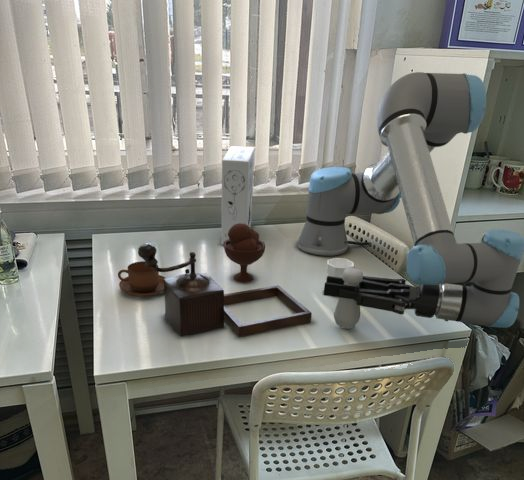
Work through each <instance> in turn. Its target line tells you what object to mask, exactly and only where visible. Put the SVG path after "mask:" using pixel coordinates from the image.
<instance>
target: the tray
mask: <svg viewBox="0 0 524 480" xmlns="http://www.w3.org/2000/svg"><path fill="white" fill-rule="evenodd" d="M274 297H276V298H277V299H278V300H280V301H281V302H282V304H284V305H285V306H286V307H288V308H289V309H290V310H292V311H293V312H294V313H292V314H287V315H286V314H285V315H282V316H276V317H271V318H266V319H261V320H256V321H251V322H245V323H241V322H240V321H239V320H238V319H237V317H235V316H234V315H233V313H232V312H231V311H230V310H229V309H228V308H227V307H226V306H230V305H235V304H241V303H247V302H252V301H258V300H264V299H269V298H270V299H271V298H274ZM312 314H313V313H312V311H310V310H309V309H308V308H307V307H306V306H304V305H303V304H302V303H301V302H299V301H298V300H297V299H296V298H295V297H293V296H292V295H291V294H290V293H289V292H287V291H286V290H285V289H283V288H282V287H281V286H280V285H272V286H265V287H260V288H254V289H249V290H241V291H236V292H229V293H224V323H226V324H227V326H228V327H229V328H230V329H231V331H232V332H234V334H235V335H236V337H238V338H241V337H246V336H251V335H256V334H260V333H266V332H270V331H276V330H281V329H285V328H290V327H296V326H300V325H305V324H310V323H312V316H313V315H312Z"/></svg>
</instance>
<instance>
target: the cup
mask: <svg viewBox="0 0 524 480" xmlns="http://www.w3.org/2000/svg"><path fill="white" fill-rule="evenodd" d="M347 268H355V264H354V261H352V260H349V259H347V258H342V257H333V258H330V259H327V268H326V274H327V276H332V277H340V278H342V275H343V272H344V270H346V269H347ZM327 276H326V277H327Z"/></svg>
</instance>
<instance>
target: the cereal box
mask: <svg viewBox="0 0 524 480" xmlns="http://www.w3.org/2000/svg"><path fill="white" fill-rule="evenodd" d="M254 163H255V147H254V146H253V147H252V146H235V145H233V146H232V145H231V146H229V149H228V150H227V152H226V153H225V155H224V157H223V158H222V160H221V239H220V240H221V245H222V246H224V244H223V242H224V241H226V240H228V239H229V237H228V232H229V229H230V228H231V227H232V226H233V225H235V224H238V223H242V224H246V225H248V226H249V227H250V228H252V223H253V222H252V221H253V220H252V219H253V196H254V195H253V194H254V193H253V192H254V191H253V190H254V167H255V164H254Z"/></svg>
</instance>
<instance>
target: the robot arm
mask: <svg viewBox="0 0 524 480" xmlns="http://www.w3.org/2000/svg"><path fill="white" fill-rule="evenodd" d="M486 107H487V90H486V85H485V83H484V81H483V80H482V79H481V77H479V76H477V75H473V74H467V73H445V72H422V71H416V72H410V73H407V74H405V75H403V76H401V77H399V78H398V79H397V80H395V81H394V82H393V83H391V85H390V86H389V87H388V89H387V90H386V92H385V93H384V95H383V97H382V99H381V101H380V104H379V107H378V112H377V118H376V119H377V120H376V121H377V123H376V125H377V132H378V136H379V139H380V142H381V144H382V145H383V146H384V147H387V149H388V150H387V151H386V152H385V153H384V155H383V156H382V157H381V158H380V160H379V161H378V162H374V163H371V164H370V165H368V167H367V168H366V169H365V170H364V171H363V172H352V170H351V169H350V168H348V167H343V166H339V167H338V166H327V167H323V168H320V169H317V170H315V171H313V172H312V174H311V175H310V178H309V185H308V194H307V196H308V197H307V207H306V219H305V223H304V225H303V228H302V230H301V233H300V235H299V237H298V241H297V242H298V243H297V247H298V249H300V250H301V251H302V252H304V253H307V254H311V255H315V256H321V257H334V256H335V257H336V256H340V255H343V254H345V253H346V252H347V251H348V246H349V245H354V246H362V247H363V246H369V245H370V241H365V242H362V241H361V242H360V241H355V240H348V236H347V231H346V226H345V225H346V217H347V215H365V214H366V215H369V214H372V215H373V214H374V215H382V214H387V213H391V212H393V211H394V210H395V209H396V208H397V207H398V206H399V204H400V202H401V201H402V205H403V209H404V212H405V216H406V220H407V224H408V227H409V232H410V235H411V239H412V242H413V246H412V248H410V249H409V251H408V252H407V256H406V260H405V262H406V267H405V268H406V269H405V270H406V273H407V276H408V278H409V280H410V281H411V282H412V283H414V284H416V285H418V286H415V285H411V284H407V279H405V278H387V277H376V276H368V275H367V276H366V275H363V278H362V282H360V283H359V285H358V286H348V285H344V282H345V281H344V280H343V279H342V278H340V277H332V276H326V282H324V286H323V296H326V297H327V296H328V297H335V298H339V297H340V298H347V299H354V301H356V302H357V303H356V304H357V305H359V306H360V307H364V308H371V309H376V310H380V311H381V310H382V311H387V312H392V313H395V314H398V315H402V316H403V315H404V314H405V310H414V315H415V316H416V317H421V318H429V319H432V318H433V317H435V319H436V320H443V321H444V322H449V321H451V322H457V323H458V322H459V323H465V324H471V325H477V326H484V327H487V328H499V329H500V328H501V329H503V328H504V329H508V328H510V327H511V326H513V325H514V323H515V322H516V319H517V318H518V315H519V309H520V296H519V294H518V293H516V292H513V291H512V289H513V286H514V282H515V279H516V275H517V273H518V271H519V267H520V265H521V262H522V260H523V255H524V236H523V235H521V234H520V233H518V232H516V231H513V230H508V229H500V228H498V229H497V228H496V229H495V228H494V229H491V230H488V231H486V232H485V234H484V237H483V238H482V242H467V243H464V242H463V243H457V240H456V237H455V234H454V230H453V227H452V223H451V220H450V217H449V214H448V211H447V207H446V204H445V200H444V196H443V193H442V190H441V187H440V182H439V179H438V177H437V172H436V169H435V167H434V166H435V165H434V163H433V162H434V161H433V160H432V156H431V153H432V151H433V150H434V149H436V148H441V147H444V146H446V145H447V144H449V143H450V142H451V141H452V140H453V139H454V138H455V137H456V136H457V135H458V134H460V133H461V134H462V133H463V135H464V134H465V135H467V134H468V133H473V132H475V131H476V130H477V129H478V128H479V127H480V125H481V124H482V121H483V119H484V117H485V113H486ZM458 283H459V284H458ZM460 283H462V284H463V283H465V284H466V283H471V286H468V285H462V284H460ZM355 288H356V290H355Z"/></svg>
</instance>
